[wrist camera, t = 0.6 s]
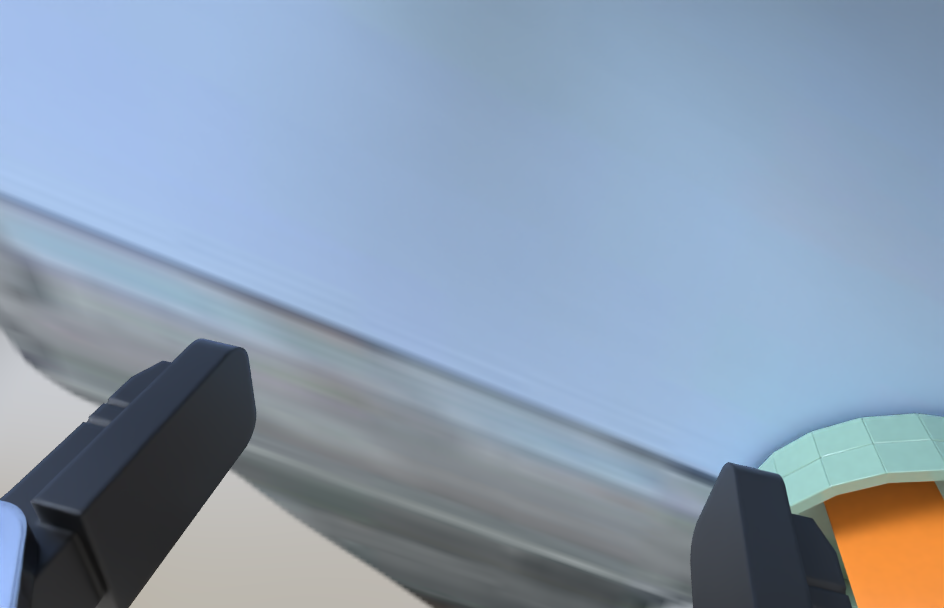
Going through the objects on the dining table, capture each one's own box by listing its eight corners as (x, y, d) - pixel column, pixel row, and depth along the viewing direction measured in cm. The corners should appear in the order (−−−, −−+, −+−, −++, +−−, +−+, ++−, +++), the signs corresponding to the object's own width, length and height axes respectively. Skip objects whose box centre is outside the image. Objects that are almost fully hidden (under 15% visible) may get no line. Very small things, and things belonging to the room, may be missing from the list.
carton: (820, 494, 33) (886, 694, 25) (931, 475, 31) (1042, 687, 23) (843, 553, 35) (911, 756, 27) (948, 539, 33) (1056, 755, 25)
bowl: (776, 386, 30) (795, 446, 27) (1115, 432, 28) (1180, 503, 25) (710, 565, 38) (718, 628, 35) (969, 611, 36) (1004, 683, 33)
